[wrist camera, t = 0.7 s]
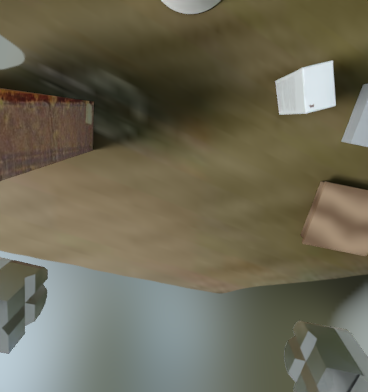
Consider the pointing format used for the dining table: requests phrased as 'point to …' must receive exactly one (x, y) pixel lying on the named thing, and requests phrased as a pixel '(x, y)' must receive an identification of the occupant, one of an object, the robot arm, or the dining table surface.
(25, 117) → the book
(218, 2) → the robot arm
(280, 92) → the skincare box
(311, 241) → the tan flat square slab
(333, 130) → the dining table surface
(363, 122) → the grey stand
